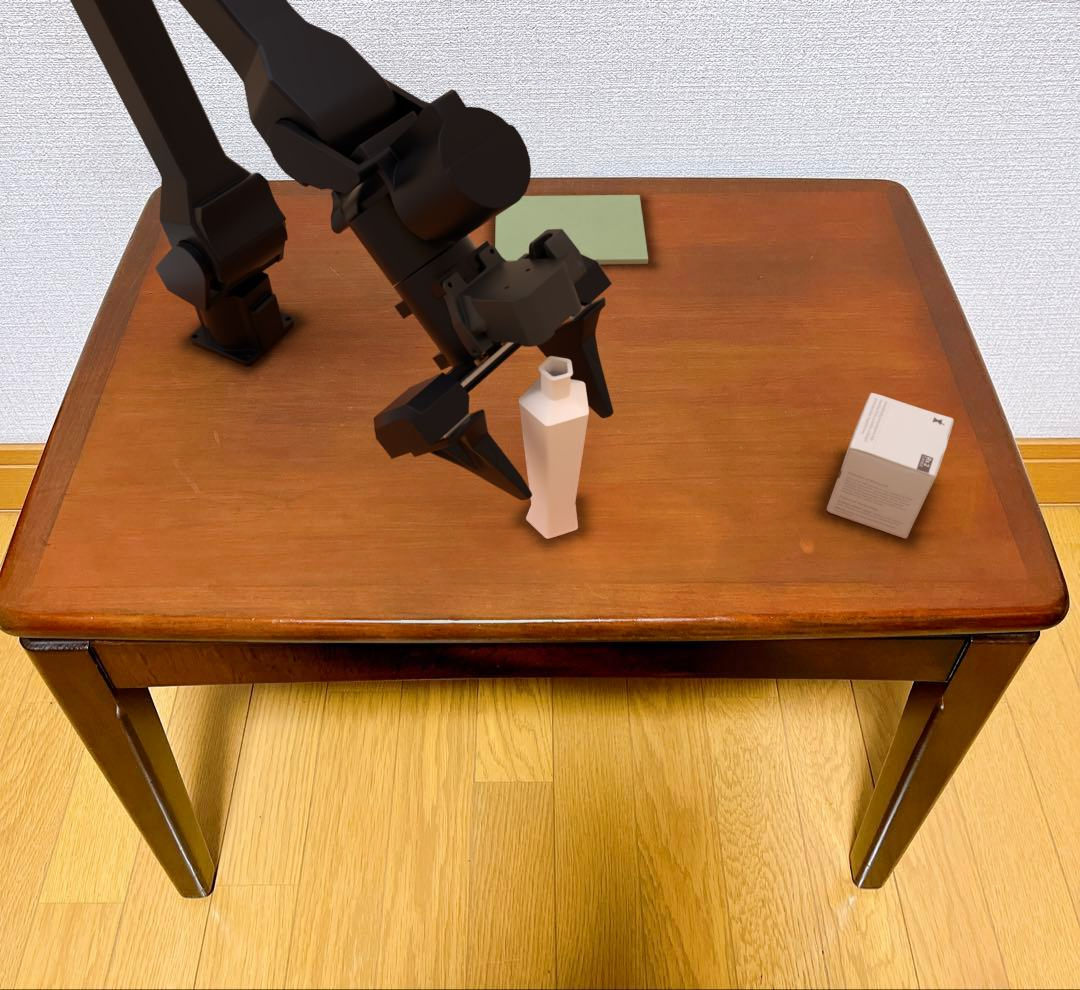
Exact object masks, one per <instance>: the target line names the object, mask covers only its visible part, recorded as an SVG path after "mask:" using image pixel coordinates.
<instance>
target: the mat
mask: <svg viewBox="0 0 1080 990" xmlns="http://www.w3.org/2000/svg"><path fill="white" fill-rule="evenodd" d="M548 229H563V231H564V232H565V233H566V234H567V236H568V237H569V238H570V239H571V241H572V242H573V243H574V245H575V246H576V247H577V248H578V250H579V251H580V254H582V255H584V256H586V257H589V258H591V259H593V260H595V261H597V262H598V263H599V264H600V266H602V265H648V264H649V253H648V245H647V240H646V232H645V231H646V230H645V225H644V216H643V209H642V203H641V194H605V195H604V194H593V195H592V194H590V195H587V194H586V195H585V194H584V195H583V194H581V195H577V194H576V195H523V197H522V198H521V199H520V200H519V201H518V202H517V203H515V204H514V205H512V206H511V207H509V208H508V209H506V210H505V211H503V212H502V213H500V214H499V215H497V216H496V217H495V229H494V230H495V231H494V233H495V235H494V247H495V248H496V249H497V251H498V252H499V254H500V255H501V256H502V257H503V258H504V259H505V260H506V261H507V262H513V261H516V260H518V259H519V258H520V257H521V256H523V255H524V254H525V253H529V244H530V243H531V242H532V241H533V240H535V239H536V238H537V237H538V236H540V235H541V234H542V233H543V232H544V231H546V230H548Z"/></svg>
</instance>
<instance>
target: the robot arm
mask: <svg viewBox="0 0 1080 990" xmlns="http://www.w3.org/2000/svg"><path fill="white" fill-rule="evenodd" d="M69 1H70V3H71V5H72V7H73V9H74V11H75V13H76V15H77V16H78V18H79V20H80V23H81V25H82V26H83V28H84V30H85V32H86V34H87V36H88V38H89V40H90V42H91V44H92V46H93V48H94V50H95V51H96V54H97V55H98V57H99V59H100V61H101V63H102V65H103V67H104V69H105V71H106V72H107V75H108V76H109V78H110V80H111V82H112V84H113V86H114V88H115V91H116V92H117V94H118V96H119V97H120V100H121V101H122V103H123V105H124V107H125V109H126V111H127V113H128V115H129V117H130V119H131V121H132V123H133V125H134V126H135V129H136V130H137V132H138V135H139V136H140V138H141V140H142V143H143V144H144V146H145V148H146V150H147V151H148V154H149V155H150V157H151V159H152V161H153V164H154V165H155V167H156V169H157V172H158V173H159V176H160V178H161V183H160V199H159V200H160V201H159V203H160V204H159V223H160V225H161V227H162V229H163V231H164V234H165V235H166V238H167V240H168V242H169V245H170V247H171V249H170V250H169V251H168V252H167V253H166V254H165V255H164V257H163V258H162V259H161V260H160V261H159V262H158V263H157V265H156V266H155V270H156V272H157V274H158V276H159V277H160V279H161V281H162V282H163V285H164V286H165V289H166V290H167V291H168V292H170V293H171V294H173V295H174V296H176V297H178V298H180V299H182V300H183V301H185V302H186V303H188V304H190V305H192V306H193V307H194V308H195V311H196V315H197V317H198V320H199V323H200V326H199V327H197V329H196V330H194V331H193V332H192V333H190V335H189V340H190V342H191V344H192V345H195V346H198V347H200V348H203V349H205V350H208V351H210V352H212V353H215V354H217V355H220V356H222V357H225V358H226V359H228V360H231V361H234V362H237V363H238V364H240V365H242V366H251V365H253V364H254V363H255V362H256V361H257V360H258V359H259V358H260V357H261V356H262V355H263V354H264V353H265V352H266V351H267V350H269V348H271V347H272V346H273V345H274V344H275V343H276V342H277V341H278V340H279V339H280V338H281V337H282V336H283V335H284V334H285V333H286V332H287V331H288V330H289V329H290V328H291V327H292V326H293V325H294V324H295V318H294V316H293V315H290V314H288V313H286V312H283V311H281V309H280V306H279V301H278V297H277V294H276V293H274V291H273V287H272V284H271V280H270V276H269V274H268V273H266V272H265V271H266V270H267V269H269V268H271V267H272V266H273V265H275V264H276V263H280V262H282V261H283V260H284V255H285V245H286V242H287V241H288V240H289V235H288V229H287V223H286V220H287V217H286V216H285V214H284V213H283V212H282V210H281V209H280V207H279V205H278V203H277V201H276V199H275V197H274V194H273V192H272V189H271V186H270V183H269V181H268V179H267V178H266V177H265V176H264V175H262V173H260V172H257V171H256V172H253V173H252V172H250V171H249V170H247V169H246V168H245V167H243V166H242V165H240V164H239V163H237V161H235V160H234V159H232V158H231V157H229V156H228V155H227V154H226V152H225V150H224V148H223V146H222V144H221V142H220V140H219V138H218V136H217V134H216V132H215V129H214V127H213V124H212V123H211V121H210V118H209V117H208V115H207V112H206V111H205V108H204V106H203V104H202V102H201V99H200V98H199V95H198V93H197V91H196V89H195V87H194V85H193V83H192V81H191V80H192V79H190V76H189V73H188V72H187V69H186V68H185V66H184V64H183V61H182V59H181V57H180V55H179V52H178V51H177V49H176V47H175V44H174V42H173V41H172V38H171V36H170V34H169V32H168V30H167V28H166V26H165V23H164V21H163V19H162V17H161V15H160V13H159V10H158V8H157V6H156V4H155V2H154V0H69ZM177 1H178V2H179V4H180V5H181V6H182V7H183V8H184V9H185V11H186V12H187V13H188V14H189V16H190V17H191V18H192V19H193V20H194V22H195V23H196V24H197V25H198V27H199V28H200V29H201V30H202V31H203V33H204V34H205V35H206V36H207V37H208V39H209V40H210V41H211V42H212V44H213V45H214V46H215V47H216V48H217V50H218V51H219V52H220V54H221V55H222V56H223V57H224V58H225V59H226V60H227V62H228V63H229V64H230V66H231V67H232V68H233V70H234V71H235V72H236V75H238V77H239V78H240V80H241V81H242V83H243V86H244V87H243V88H244V93H245V99H246V104H247V110H248V115H249V119H250V122H251V124H252V126H253V127H254V129H255V130H256V131H257V133H258V134H259V136H260V137H261V139H262V140H263V141H264V143H265V144H266V145H267V147H268V148H269V151H270V153H271V155H272V158H273V159H274V160H275V163H276V164H277V165H278V167H279V168H280V169H281V170H282V171H283V172H284V174H285V175H286V176H288V177H289V178H291V179H292V180H294V181H295V182H297V183H298V184H299V185H300V186H302V187H305V188H307V187H309V186H311V187H312V188H316V189H319V190H330V191H331V192H330V193H331V198H332V210H331V213H330V228H331V231H332V232H333V233H334V234H336V235H339V234H341V233H343V232H345V231H346V230H347V229H349V228H350V230H351V231H352V232H353V234H354V235H355V237H356V238H357V239H358V241H359V242H360V243H361V245H362V246H363V248H364V249H365V250H366V251H367V253H368V254H369V256H370V257H371V258H372V260H373V261H374V263H375V264H376V265H377V266H378V268H379V269H380V271H381V272H382V273H383V275H384V277H385V278H386V279H387V280H388V282H389V283H390V284H391V286H392V287H393V288H394V290H395V292H397V294H398V295H399V296H400V298H401V300H400V301H399V302H398V303H396V304H395V305H394V306H393V307H394V308H395V310H396V312H398V314H399V315H400V316H401V317H402V319H403V320H404V319H406V318H408V317H409V316H412V315H413V316H414V317H415V319H416V320H417V321H418V323H419V324H420V325H421V327H422V328H423V330H424V331H425V333H426V334H427V335H428V337H429V338H430V339H431V341H432V342H433V343H434V346H436V347H437V349H438V350H439V352H438V353H436V354H435V355H434V356H433V357H432V360H433V361H434V364H436V365H437V367H438V368H439V369H440V371H443V370H446V369H448V368H451V369H449V370H448V371H447V372H446V373H444V372H441V373H438V374H436V375H434V376H431V377H429V378H427V379H425V380H423V381H421V382H417V383H416V384H414V385H412V386H409V387H408V388H407V389H406V390H405V391H403V392H402V393H401V394H400V395H399V396H398V397H396V398H395V399H394V400H393V401H392V402H390V403H389V404H388V405H387V406H386V407H384V408H383V409H382V410H381V411H379V413H377V414H376V415H375V416H374V417H373V426H374V427H373V428H374V434H375V439H376V441H377V442H378V443H379V444H380V446H381V447H382V448H383V449H384V451H385V452H386V454H387V455H388V457H390V459H392V460H393V459H396V458H399V457H402V456H405V455H408V454H411V456H413V457H414V458H417V457H420V456H423V455H427V454H432V455H433V456H436V457H438V458H440V459H443V460H445V461H446V462H447V461H448V462H450V463H452V464H453V465H456V466H458V467H461V468H463V469H465V470H467V471H469V472H470V473H472V474H474V475H476V476H477V477H480V478H481V479H482V480H485V481H486V482H488V483H489V484H491V485H493V486H495V487H497V489H500V490H502V491H503V492H505V493H507V494H509V495H511V496H512V497H514V498H516V499H517V500H519V501H522V502H523V501H528V500H531V497H532V493H531V491H530V489H529V485H528V484H527V482H526V481H525V479H524V477H523V476H522V475H521V473H520V471H518V469H517V468H516V467H515V465H514V464H513V463H512V462H511V460H510V459H509V458H508V456H507V455H506V453H504V451H503V450H502V448H501V447H500V446H499V444H498V443H497V442H496V441H495V439H494V438H493V437H492V435H491V434H490V432H489V430H488V423H487V417H486V413H485V409H483V408H481V409H479V410H477V411H473V412H470V394H469V393H470V392H471V391H472V390H474V389H475V388H476V387H477V386H478V385H479V384H481V382H483V381H484V380H485V379H486V378H487V377H489V376H490V374H492V373H493V372H494V371H495V370H496V369H497V368H498V367H500V366H501V365H502V364H503V363H504V362H505V361H506V360H508V359H509V357H511V356H512V355H513V354H514V353H515V352H517V351H518V350H519V349H520V348H521V347H527V348H531V347H537V348H538V349H539V351H540V352H541V353H542V354H543V355H544V356H545V358H546V359H547V358H548V357H550V356H554V357H560V358H566V359H569V360H571V362H572V370H573V374H572V376H571V377H570V379H572V380H577V381H582V382H584V383H585V386H586V393H587V401H588V408H589V409H590V410H592V411H593V412H594V413H595V414H596V415H598V417H599V418H601V419H607V418H610V417H612V416H613V414H614V408H613V404H612V400H611V396H610V393H609V389H608V388H609V387H608V385H607V381H606V378H605V374H604V370H603V366H602V362H601V358H600V352H599V349H598V348H599V347H598V342H597V336H596V335H597V333H596V332H597V327H598V323H599V318H600V314H601V312H602V310H603V309H604V308H605V307H606V306H607V305H606V304H607V303H606V297H601V298H598V297H599V296H600V295H602V294H603V293H604V292H605V291H606V290H607V289H608V288H609V287H611V286H612V285H613V283H612V281H611V279H610V278H609V277H608V274H607V273H606V272H605V270H604V269H603V267H602V265H600V264H599V263H598V262H597V261H595V260H593V259H591V258H589V257H586V256H584V255H582V254H580V251H579V250H578V248H577V247H576V246H575V245H574V243H573V242H572V241H571V239H570V238H569V237H568V236H567V234H566V233H565V232H564V231H563V229H548V230H546V231H544V232H543V233H542V234H541V235H540V236H538V237H537V238H536V239H535V240H533V241H532V242H531V243H530V244H529V253H525V254H524V255H523V256H521V257H520V258H519V259H518V260H516V261H513V262H507V261H506V260H505V259H504V258H503V257H502V256H501V255H500V254H499V252H498V251H497V249H496V248H495V245H491V243H490V242H489V241H488V240H485V241H484V242H483V243H480V244H478V245H477V246H476V245H475V243H474V241H473V239H472V238H471V237H470V236H469V235H470V234H472V233H473V232H475V231H476V230H478V229H479V228H481V227H482V226H484V225H486V224H487V223H488V222H490V221H491V220H493V219H494V218H496V216H497V215H499V214H500V213H502V212H503V211H505V210H506V209H508V208H509V207H511V206H512V205H514V204H515V203H517V202H518V201H519V200H520V199H521V198H522V197H523V196H525V194H526V192H527V191H528V189H529V185H530V182H531V174H532V166H531V157H530V155H529V151H528V148H527V145H526V143H525V141H524V139H523V137H522V135H521V134H520V132H519V131H518V130H517V128H516V127H515V126H514V125H513V124H509V123H508V121H507V122H506V120H505V119H503V118H502V117H501V116H500V115H498V114H497V113H496V112H493V111H491V110H489V109H486V108H483V107H479V106H467V105H466V103H465V102H464V100H463V99H462V98H461V97H460V95H459V93H458V92H457V91H456V90H455V89H450V90H448V91H447V92H445V93H443V94H442V95H440V96H438V97H437V98H435V99H434V100H432V101H430V102H428V101H425V100H422V99H421V98H419V97H417V96H415V95H414V94H412V93H410V92H409V91H407V90H405V89H404V88H402V87H400V86H398V85H397V84H395V83H393V82H391V80H388V79H386V78H385V77H384V76H382V75H381V74H380V72H378V71H377V69H375V68H374V66H373V65H372V64H370V63H369V61H368V60H366V59H365V57H364V56H362V54H361V53H360V52H358V51H357V50H356V49H355V47H353V45H352V44H350V42H348V40H347V39H345V38H343V37H342V36H340V35H337V34H335V33H333V32H331V31H328V30H326V29H324V28H322V27H319V26H317V25H315V24H312V23H311V22H308V21H307V20H306V19H305V18H304V17H303V16H302V15H301V14H299V12H298V11H297V10H296V9H295V8H294V7H293V6H292V5H291V3H290V2H289V1H288V0H177ZM597 298H598V299H597ZM596 299H597V300H596Z"/></svg>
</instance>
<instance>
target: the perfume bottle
mask: <svg viewBox="0 0 1080 990" xmlns="http://www.w3.org/2000/svg"><path fill="white" fill-rule="evenodd" d="M537 370H538V371H539V373H540V375H539V376H538V377H537V378H536V379H535V380H534V381H533V383H532V384H531V385H530V386H529V387H528V388H527V389H526V391H525V392H523V394H522V395H521V396H520V397H519V399H518V408H519V416H520V425H521V433H522V440H523V448H524V456H525V465H526V473H527V481H528V487H529V489H530V491H531V493H532V497H531V498H530V504H531V505H530V507H529V510H528V512H527V514H526V517H525V520H526V521H527V522H528V523H529V524H530V525H531V526H532V527H533V528H534V529H535V530H536V531H537V532H538V533H540V535H542V537H543V538H545V539H547V540H548V539H553V538H555V537H558V536H563V535H565V534H567V533H571V532H574V531H577V530H578V528H579V523H578V514H577V513H578V512H577V505H576V500H577V494H578V487H579V480H580V473H581V467H582V462H583V461H582V460H583V454H584V448H585V441H586V434H587V427H588V420H589V415H590V407H589V406H588V401H587V393H586V386H585V383H584V382H582V381H577V380H572V379H570V377H571V376H572V374H573V370H572V362H571V360H569V359H566V358H560V357H554V356H550V357H548V358H547V357H546V359H544V361H543V362H542V363H541V364H540V365H539V367H538V368H537Z"/></svg>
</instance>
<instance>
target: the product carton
mask: <svg viewBox="0 0 1080 990" xmlns="http://www.w3.org/2000/svg"><path fill="white" fill-rule="evenodd" d="M954 421H955V420H954V418H953V417H950V416H947V415H944V414H940V413H937V412H933V411H930V410H927V409H924V408H921V407H918V406H915V405H911V404H910V403H909V404H908V403H905V402H902V401H900V400H896V399H894V398H891V397H888V396H885V395H882V394H879V393H875V392H870V393H869V396H868V398H867V400H866V401H865V405H864V407H863V409H862V411H861V414H860V416H859V418H858V421H857V423H856V426H855V429H854V431H853V433H852V436H851V438H850V442H849V445H848V448H847V451H846V453H845V456H844V459H843V462H842V465H841V467H840V470H839V473H838V476H837V479H836V482H835V484H834V487H833V490H832V493H831V495H830V499H829V501H828V503H827V507H826V511H827V512H828V513H830V514H832V515H835V516H838V517H841V518H844V519H847V520H850V521H852V522H856V523H858V524H861V525H864V526H867V527H870V528H873V529H876V530H879V531H882V532H885V533H887V534H891V535H892V536H896V537H899V538H902V539H908V537H909V535H910V533H911V531H912V528H913V526H914V523H915V522H916V520H917V517H918V515H919V513H920V511H921V509H922V507H923V505H924V503H925V500H926V498H927V497H928V494H929V492H930V490H931V488H932V486H933V484H934V482H935V480H936V478H937V476H938V473H939V471H940V467H941V464H942V461H943V459H944V456H945V452H946V449H947V447H948V442H949V439H950V436H951V433H952V429H953V426H954Z"/></svg>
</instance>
